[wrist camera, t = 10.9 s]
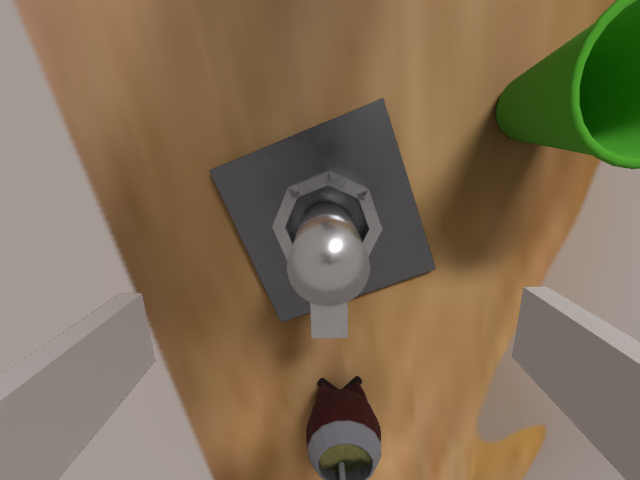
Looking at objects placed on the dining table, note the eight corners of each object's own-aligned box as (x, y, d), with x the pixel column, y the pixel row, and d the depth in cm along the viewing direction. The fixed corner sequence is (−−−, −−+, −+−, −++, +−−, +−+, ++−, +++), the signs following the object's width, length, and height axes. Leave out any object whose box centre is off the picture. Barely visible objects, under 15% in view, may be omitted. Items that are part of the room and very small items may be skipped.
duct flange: (381, 99, 26) (389, 91, 23) (432, 265, 30) (445, 279, 26) (212, 170, 28) (197, 172, 24) (282, 318, 31) (277, 336, 28)
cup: (603, 86, 25) (805, 36, 15) (531, 182, 27) (662, 199, 17) (517, 25, 24) (668, -77, 14) (449, 130, 26) (534, 113, 16)
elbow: (298, 203, 27) (284, 229, 18) (353, 202, 27) (370, 227, 18) (301, 281, 29) (291, 343, 20) (353, 280, 29) (368, 342, 20)
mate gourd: (338, 356, 33) (349, 517, 18) (391, 397, 34) (440, 577, 19) (293, 399, 34) (271, 578, 20) (345, 436, 35) (360, 630, 21)
